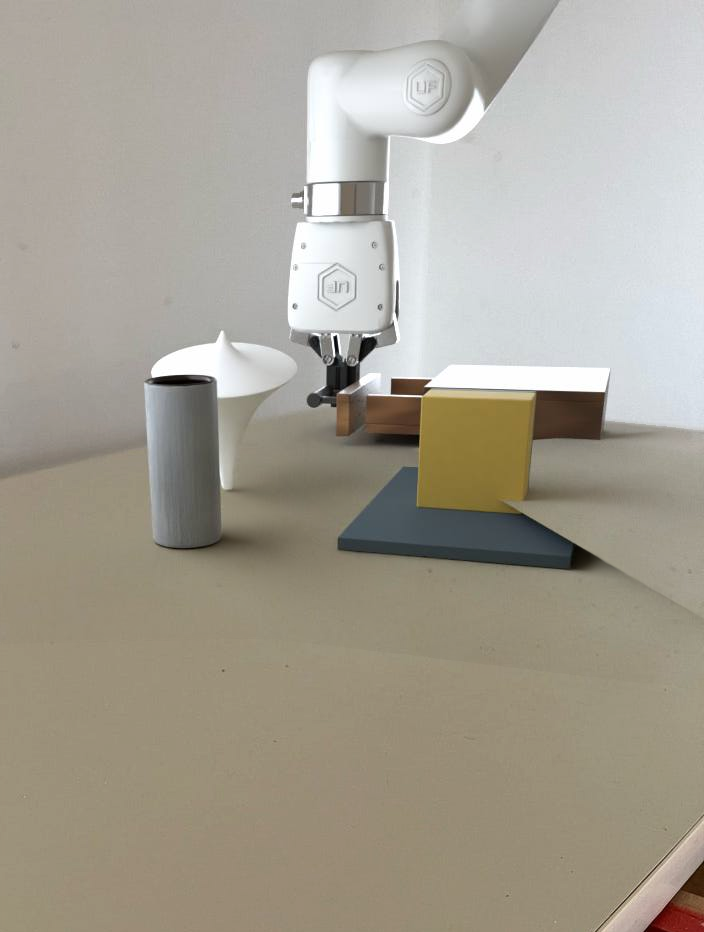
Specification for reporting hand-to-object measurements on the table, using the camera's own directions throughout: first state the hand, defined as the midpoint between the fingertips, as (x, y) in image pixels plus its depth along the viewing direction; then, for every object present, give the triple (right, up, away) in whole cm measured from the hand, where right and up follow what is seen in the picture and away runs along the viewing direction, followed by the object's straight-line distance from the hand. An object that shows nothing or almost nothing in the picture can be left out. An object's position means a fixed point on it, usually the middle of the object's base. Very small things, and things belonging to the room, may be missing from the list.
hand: (342, 404), depth 102 cm
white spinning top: (-11, -12, -23) cm, 28 cm away
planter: (-14, -17, -34) cm, 41 cm away
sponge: (+5, -14, -32) cm, 35 cm away
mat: (+5, -15, -31) cm, 35 cm away
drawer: (+5, -3, -6) cm, 8 cm away
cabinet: (+15, -5, -9) cm, 18 cm away
